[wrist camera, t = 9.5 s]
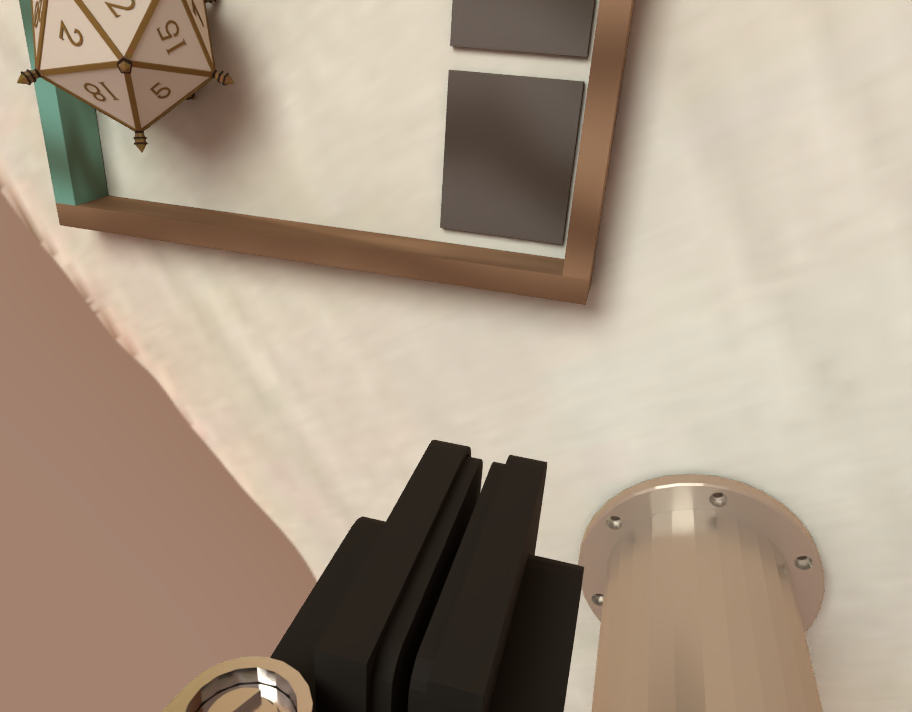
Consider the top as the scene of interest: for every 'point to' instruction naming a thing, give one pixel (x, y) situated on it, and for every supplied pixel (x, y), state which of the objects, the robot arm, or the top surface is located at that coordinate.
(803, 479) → the top surface
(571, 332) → the top surface
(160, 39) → the game die
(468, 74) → the shallow open wooden box
